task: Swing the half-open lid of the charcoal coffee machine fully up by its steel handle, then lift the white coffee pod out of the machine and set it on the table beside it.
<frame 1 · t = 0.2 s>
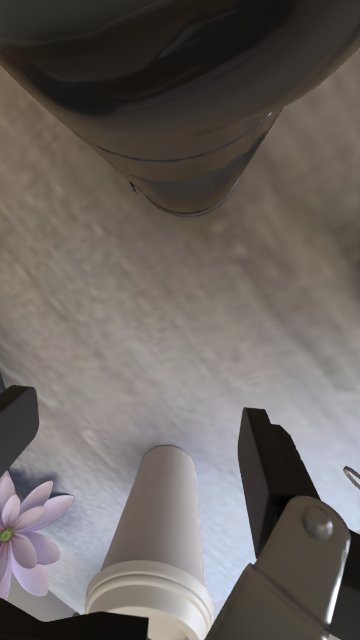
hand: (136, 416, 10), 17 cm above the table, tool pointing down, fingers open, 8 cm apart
water lily: (36, 495, 35), on the table
coffee cup: (168, 466, 33), on the table
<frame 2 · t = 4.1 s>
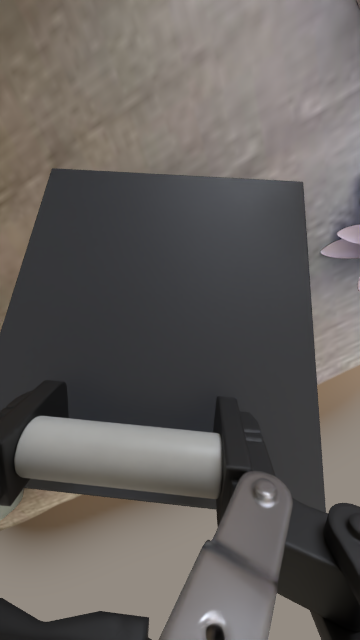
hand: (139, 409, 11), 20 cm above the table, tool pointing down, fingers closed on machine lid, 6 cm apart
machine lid: (154, 290, 12), point 17 cm above the table, hinge at 34.9°, touching gripper
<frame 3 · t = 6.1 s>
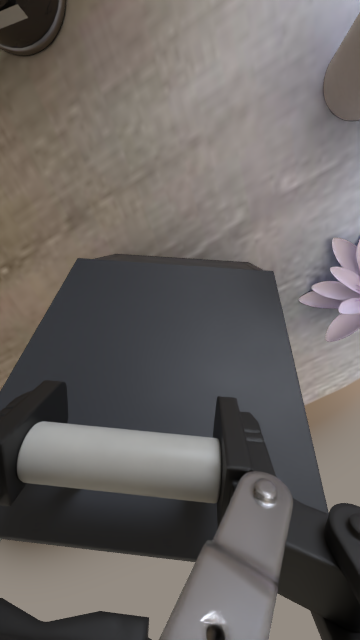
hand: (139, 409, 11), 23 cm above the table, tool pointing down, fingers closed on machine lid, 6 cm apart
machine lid: (156, 335, 14), point 19 cm above the table, hinge at 59.5°, touching gripper
water lily: (353, 274, 31), on the table
coffee machine: (177, 325, 34), on the table
coffee cup: (358, 81, 26), on the table
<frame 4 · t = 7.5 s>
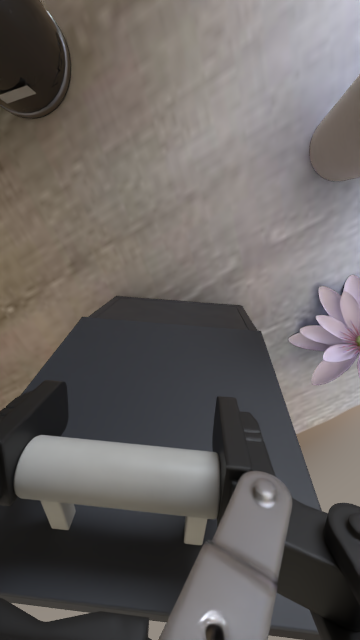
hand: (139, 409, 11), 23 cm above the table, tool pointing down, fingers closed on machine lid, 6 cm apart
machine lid: (154, 375, 15), point 19 cm above the table, hinge at 77.1°, touching gripper
water lily: (338, 317, 33), on the table
coffee machine: (174, 361, 36), on the table
coffee cup: (341, 146, 28), on the table
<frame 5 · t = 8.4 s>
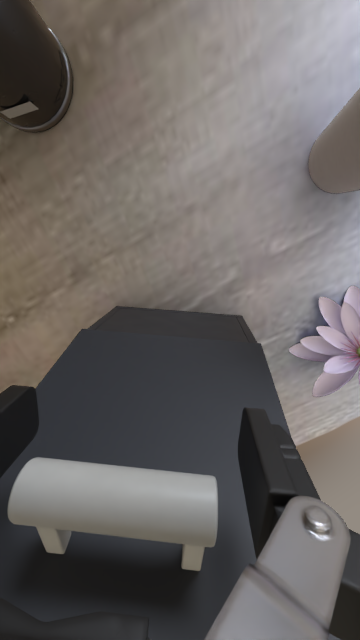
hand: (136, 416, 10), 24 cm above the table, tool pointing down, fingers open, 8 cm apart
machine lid: (153, 391, 15), point 19 cm above the table, hinge at 77.3°
water lily: (339, 327, 33), on the table
coffee machine: (174, 371, 36), on the table
coffee cup: (340, 159, 28), on the table
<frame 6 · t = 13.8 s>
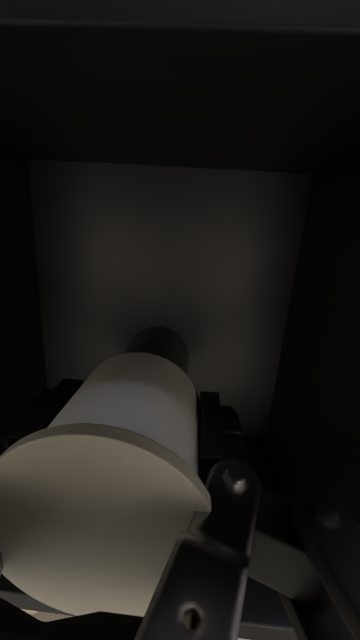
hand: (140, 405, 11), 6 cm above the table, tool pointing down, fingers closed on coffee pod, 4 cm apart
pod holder: (160, 349, 17), resting on coffee machine
coffee pod: (141, 405, 11), point 6 cm above the table, touching gripper, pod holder
coffee machine: (162, 310, 16), on the table
when the fingers open (0 cm above the table, at t = 22.7 s): coffee pod stays where it is, on the table.
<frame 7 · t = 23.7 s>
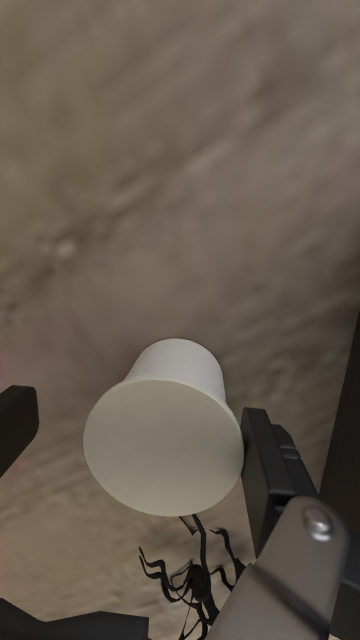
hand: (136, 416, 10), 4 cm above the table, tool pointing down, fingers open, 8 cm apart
coffee pod: (177, 381, 14), on the table, touching gripper
creature: (198, 543, 17), on the table
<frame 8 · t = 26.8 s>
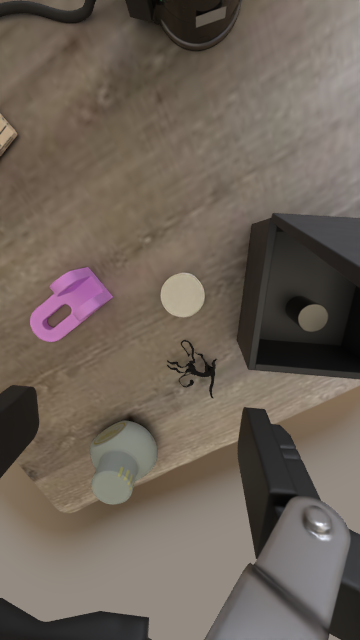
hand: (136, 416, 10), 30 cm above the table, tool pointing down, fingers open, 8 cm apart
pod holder: (296, 306, 39), resting on coffee machine
coffee pod: (184, 289, 39), on the table
bracket: (70, 307, 41), on the table
air freshener: (128, 438, 47), on the table
coffee machine: (299, 289, 38), on the table
creature: (190, 362, 43), on the table
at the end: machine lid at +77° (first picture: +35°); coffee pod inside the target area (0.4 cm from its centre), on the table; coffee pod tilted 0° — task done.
